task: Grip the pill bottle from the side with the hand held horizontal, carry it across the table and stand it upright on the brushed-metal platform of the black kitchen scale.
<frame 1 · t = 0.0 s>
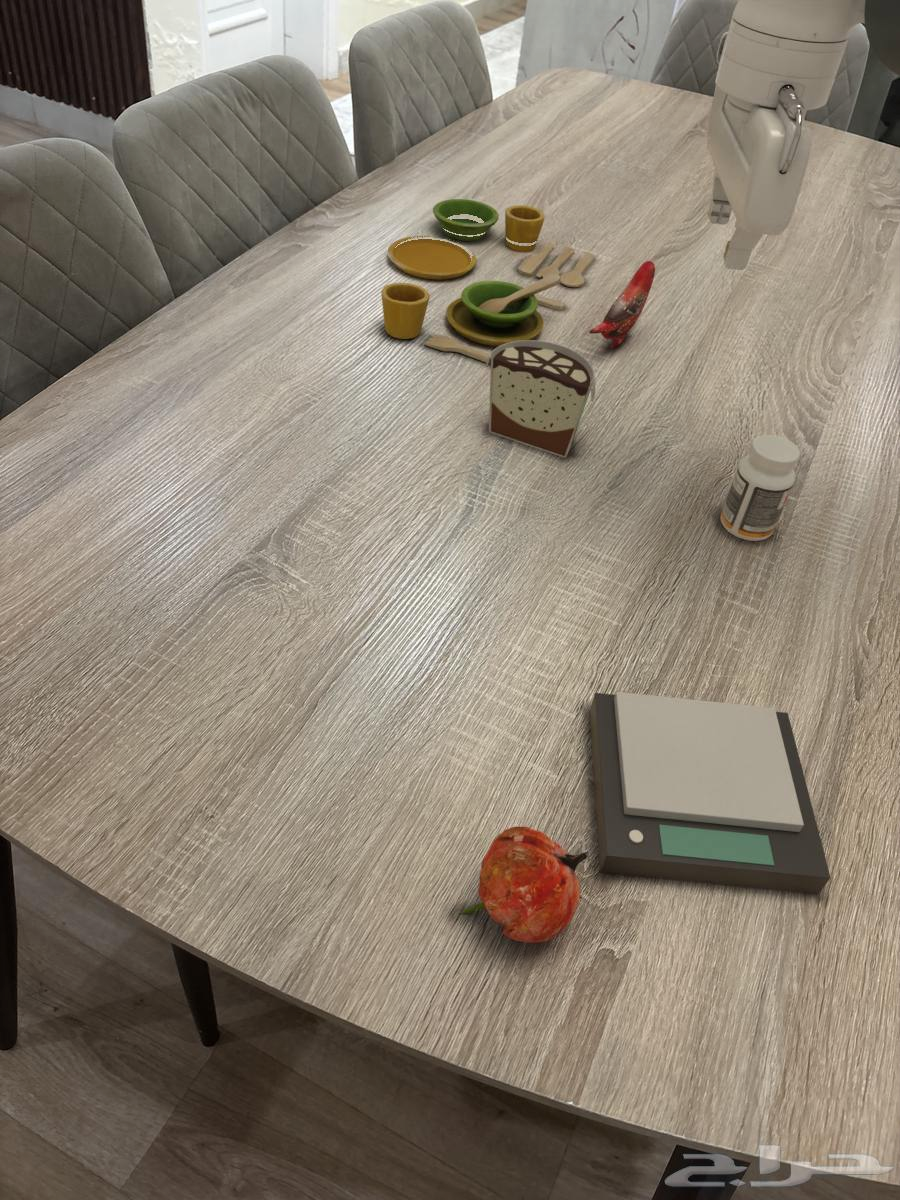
hand: (724, 242, 83), 27 cm above the table, tool pointing down, fingers open, 8 cm apart
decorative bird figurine: (610, 352, 123), on the table
pomegranate: (516, 912, 65), on the table
kitchen scale: (695, 797, 73), on the table
tableware set: (470, 287, 132), on the table
pill bottle: (744, 527, 99), on the table
cake slice cutout: (536, 434, 108), on the table
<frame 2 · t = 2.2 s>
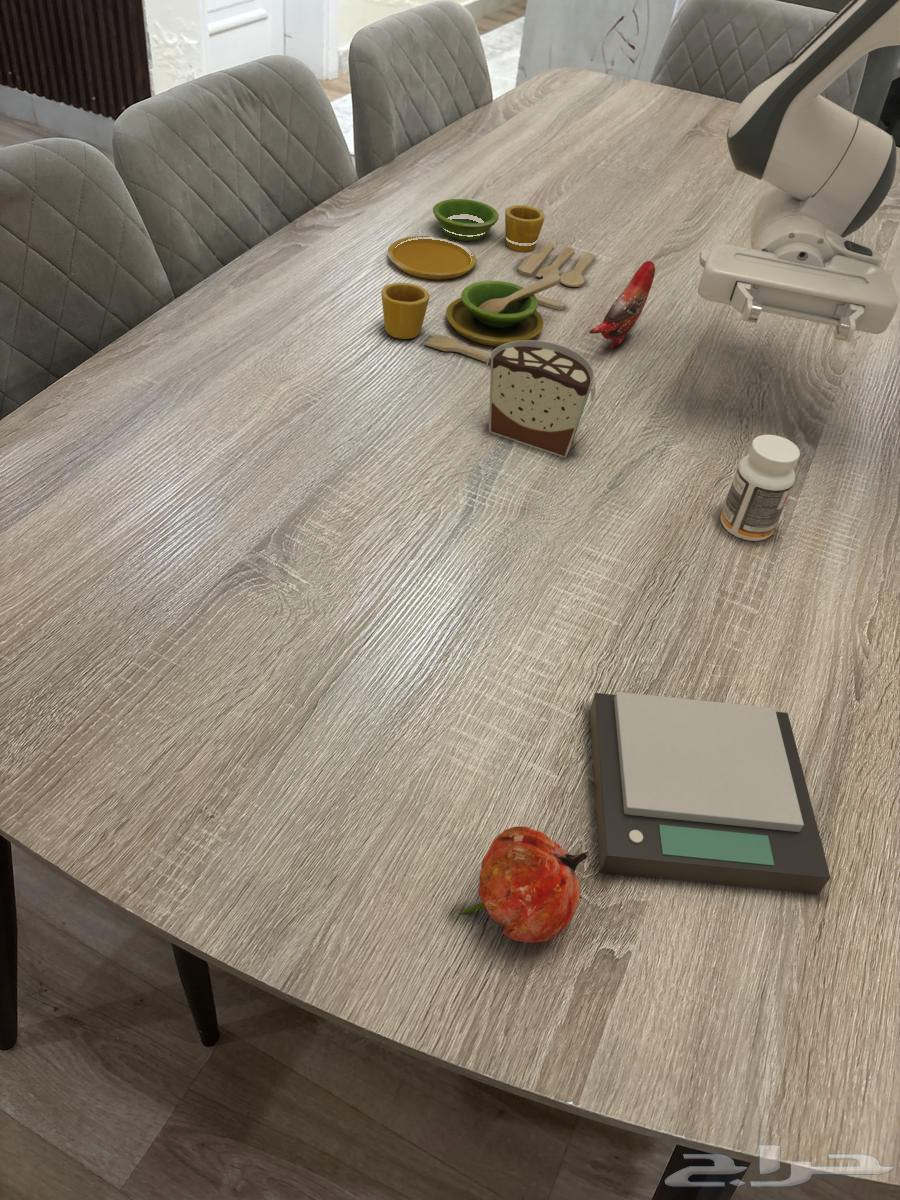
hand: (798, 324, 95), 17 cm above the table, tool horizontal, fingers open, 8 cm apart
nothing on the table moved.
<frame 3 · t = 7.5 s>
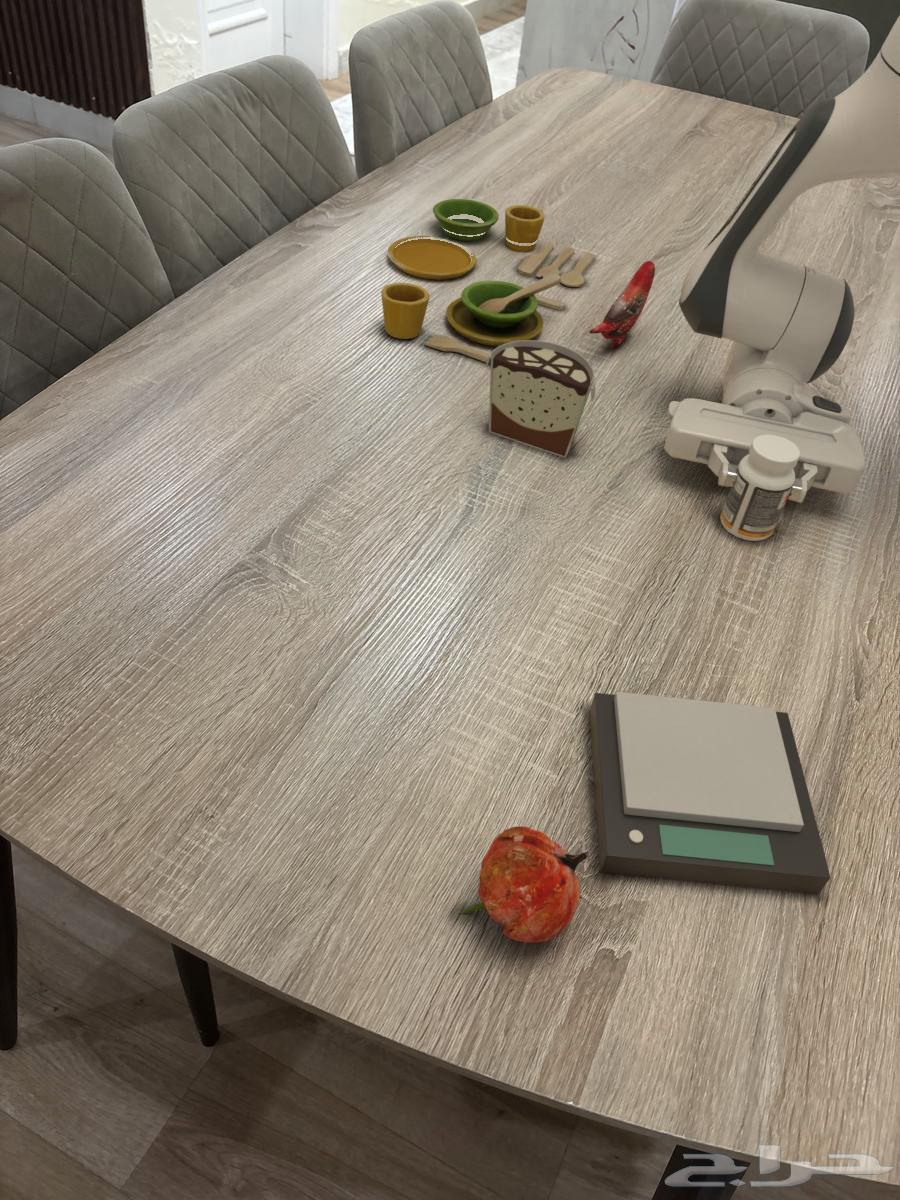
hand: (762, 488, 94), 6 cm above the table, tool horizontal, fingers closed on pill bottle, 5 cm apart
pill bottle: (744, 527, 99), on the table, touching gripper
everything else where it was.
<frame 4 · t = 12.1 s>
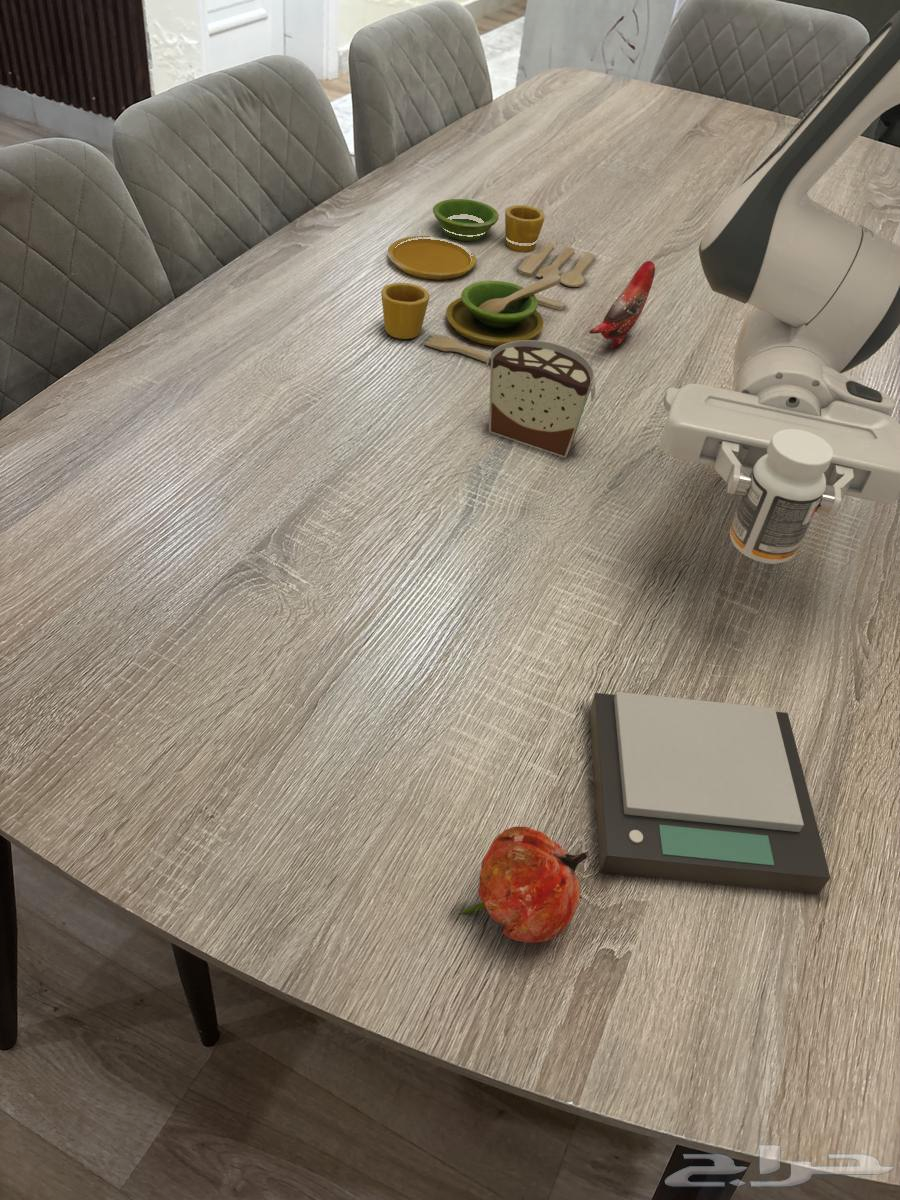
hand: (784, 498, 74), 17 cm above the table, tool horizontal, fingers closed on pill bottle, 5 cm apart
pill bottle: (760, 545, 78), point 11 cm above the table, touching gripper
everything else where it was.
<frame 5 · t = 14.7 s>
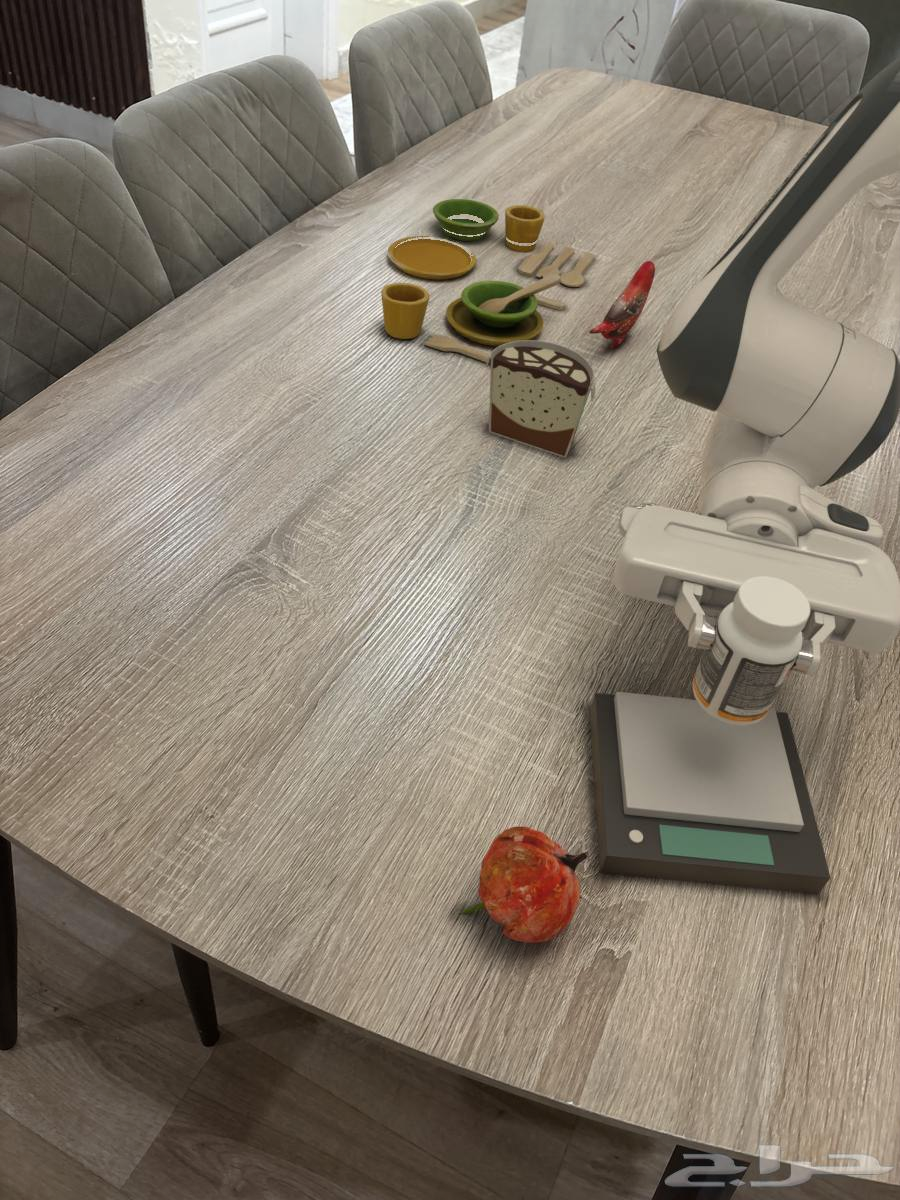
hand: (753, 655, 63), 15 cm above the table, tool horizontal, fingers closed on pill bottle, 5 cm apart
pill bottle: (727, 699, 68), point 10 cm above the table, touching gripper
everything else where it was.
when the fingers open (9 cm above the table, at t = 17.0 s): pill bottle stays where it is, resting on kitchen scale.
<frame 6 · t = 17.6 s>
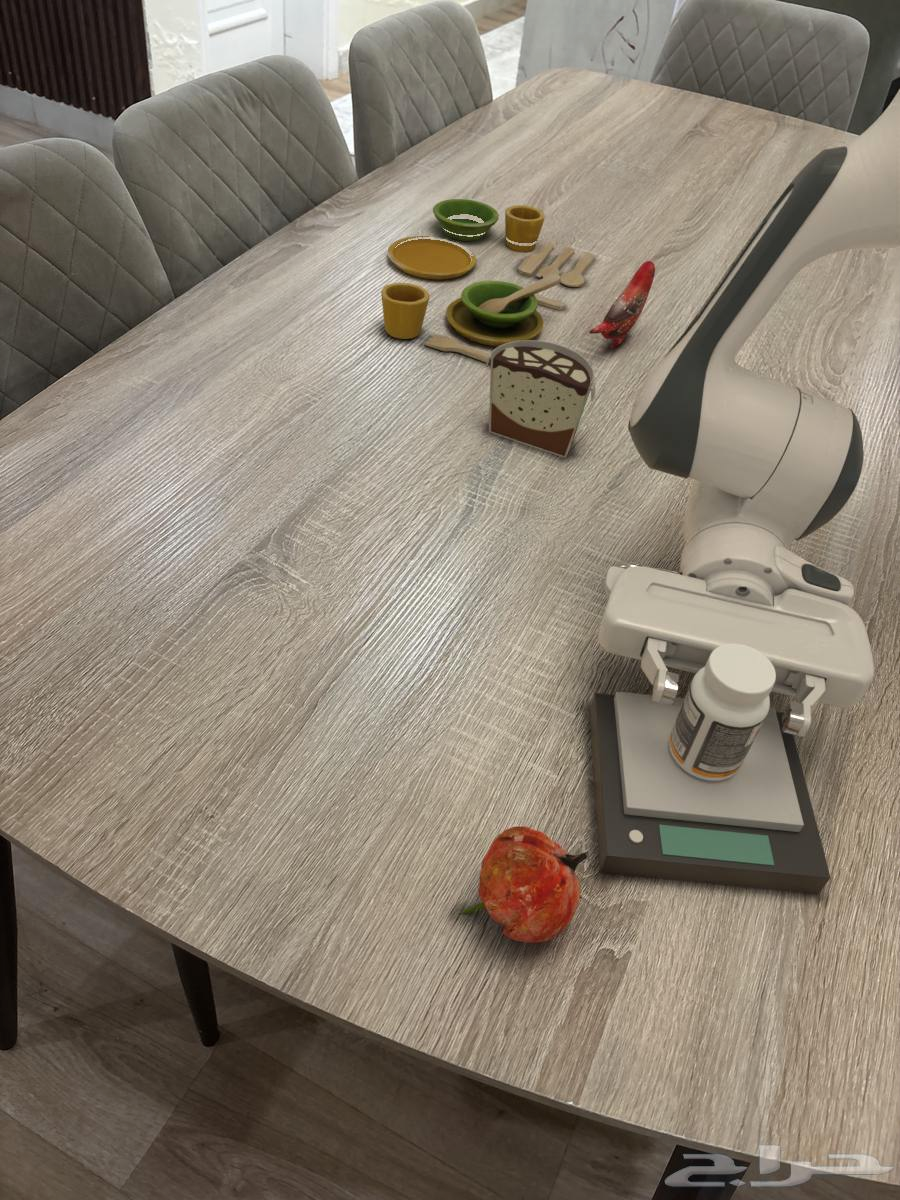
hand: (730, 713, 67), 10 cm above the table, tool horizontal, fingers open, 8 cm apart
pill bottle: (702, 754, 72), point 3 cm above the table, touching kitchen scale
everything else where it was.
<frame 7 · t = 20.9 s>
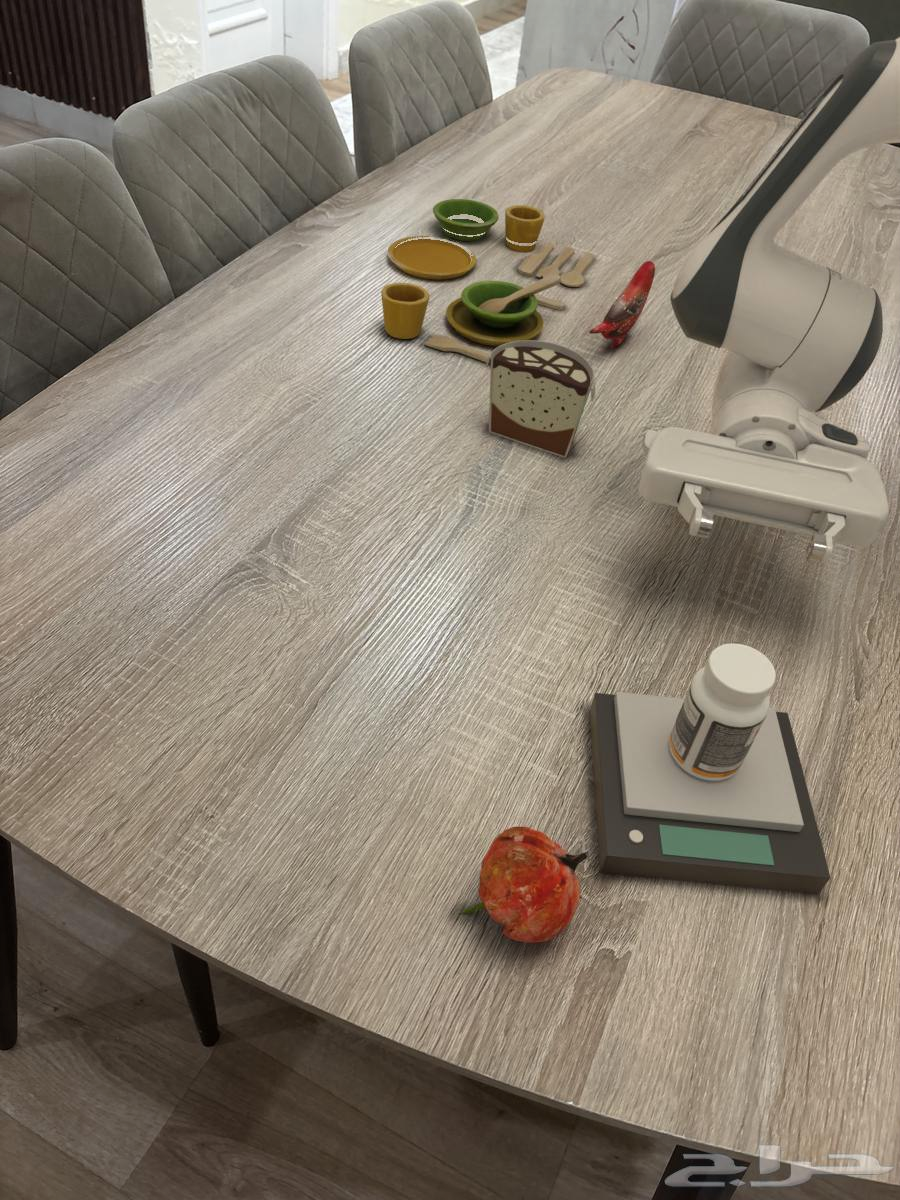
hand: (760, 543, 75), 14 cm above the table, tool horizontal, fingers open, 8 cm apart
nothing on the table moved.
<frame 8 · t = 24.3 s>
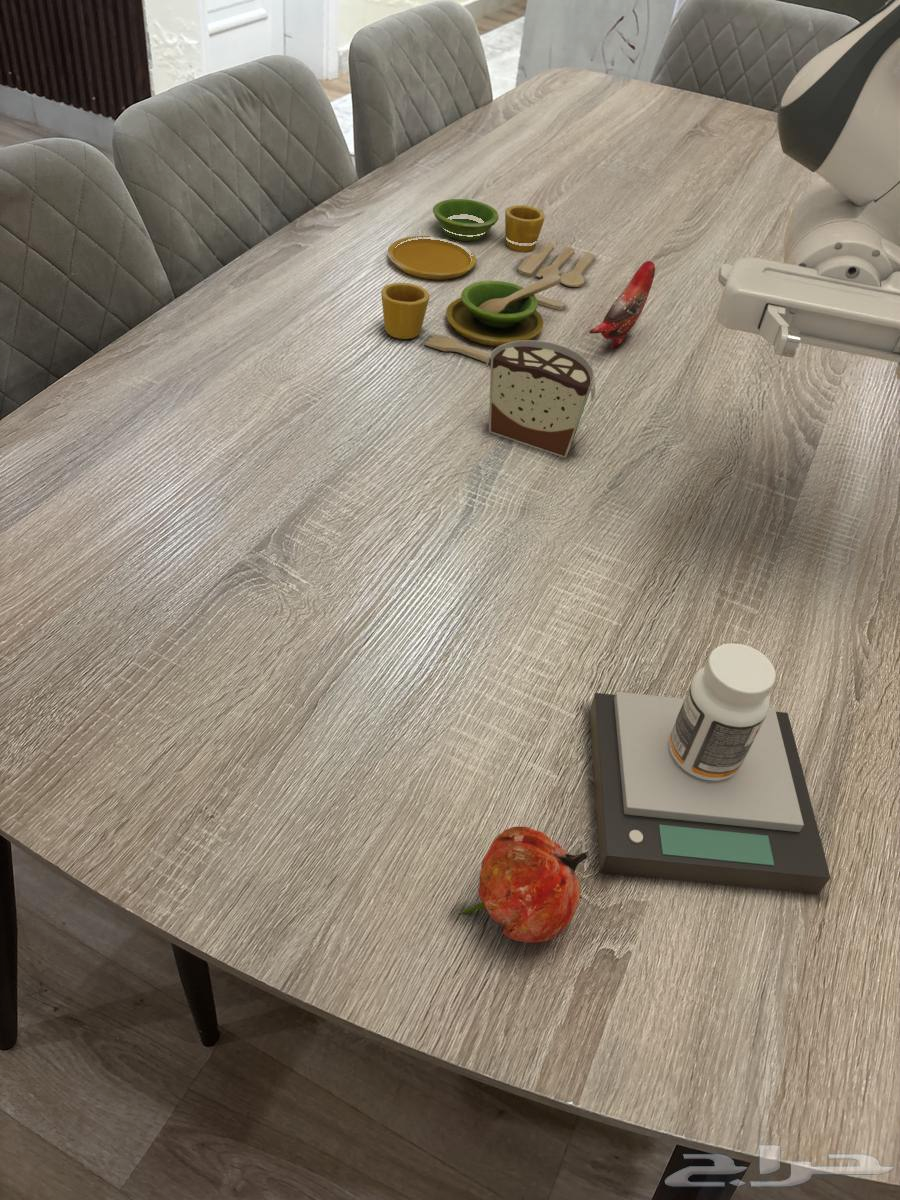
hand: (849, 360, 72), 26 cm above the table, tool horizontal, fingers open, 8 cm apart
nothing on the table moved.
at the end: pill bottle inside the target area on the kitchen scale (0.1 cm from its centre), point 3.3 cm above the kitchen scale's base; pill bottle tilted 0°; the gripper is holding nothing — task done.
